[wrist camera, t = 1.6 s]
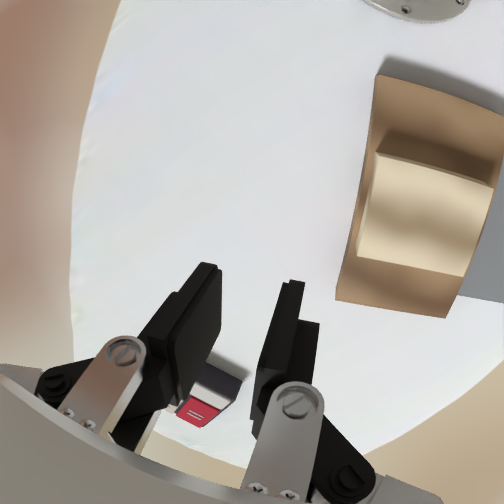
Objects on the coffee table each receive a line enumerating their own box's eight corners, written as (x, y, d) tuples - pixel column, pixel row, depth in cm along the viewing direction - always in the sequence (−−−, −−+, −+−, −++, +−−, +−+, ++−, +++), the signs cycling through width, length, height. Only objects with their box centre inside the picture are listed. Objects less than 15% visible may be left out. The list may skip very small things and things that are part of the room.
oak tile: (375, 151, 21) (379, 155, 19) (483, 181, 19) (493, 188, 17) (355, 244, 25) (356, 256, 23) (456, 265, 23) (463, 277, 21)
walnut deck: (375, 76, 20) (378, 74, 18) (499, 117, 17) (509, 119, 16) (335, 288, 29) (335, 300, 28) (440, 306, 27) (445, 318, 26)
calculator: (144, 400, 45) (161, 365, 37) (155, 382, 49) (174, 342, 40) (201, 431, 45) (234, 404, 37) (209, 412, 49) (243, 380, 40)
